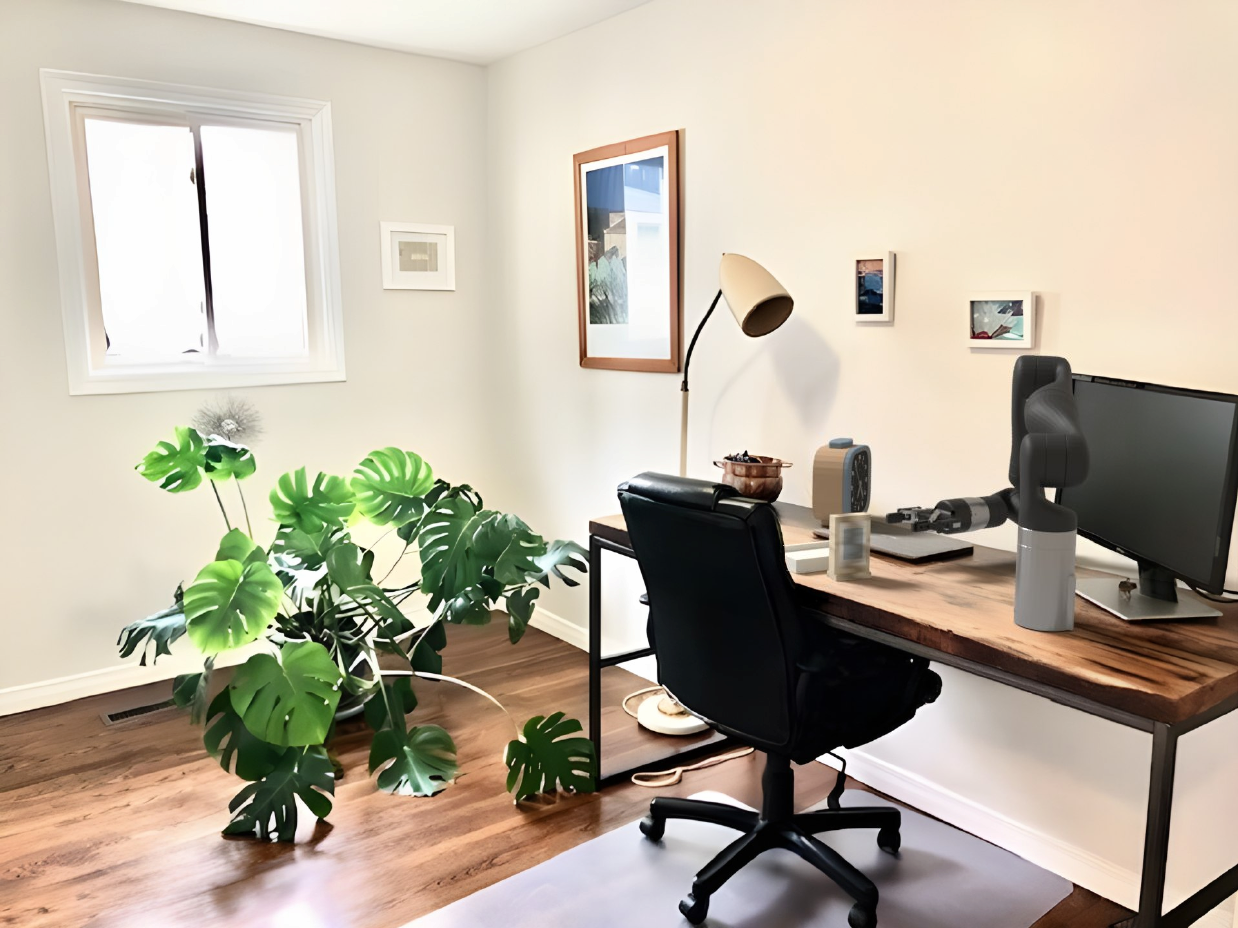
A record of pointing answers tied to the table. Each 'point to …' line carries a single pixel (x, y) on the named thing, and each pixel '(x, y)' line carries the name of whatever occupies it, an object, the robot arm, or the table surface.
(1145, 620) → the table surface
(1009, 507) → the robot arm
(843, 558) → the frame
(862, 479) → the alarm clock
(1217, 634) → the table surface
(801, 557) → the white rectangular block
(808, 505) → the table surface
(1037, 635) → the table surface
